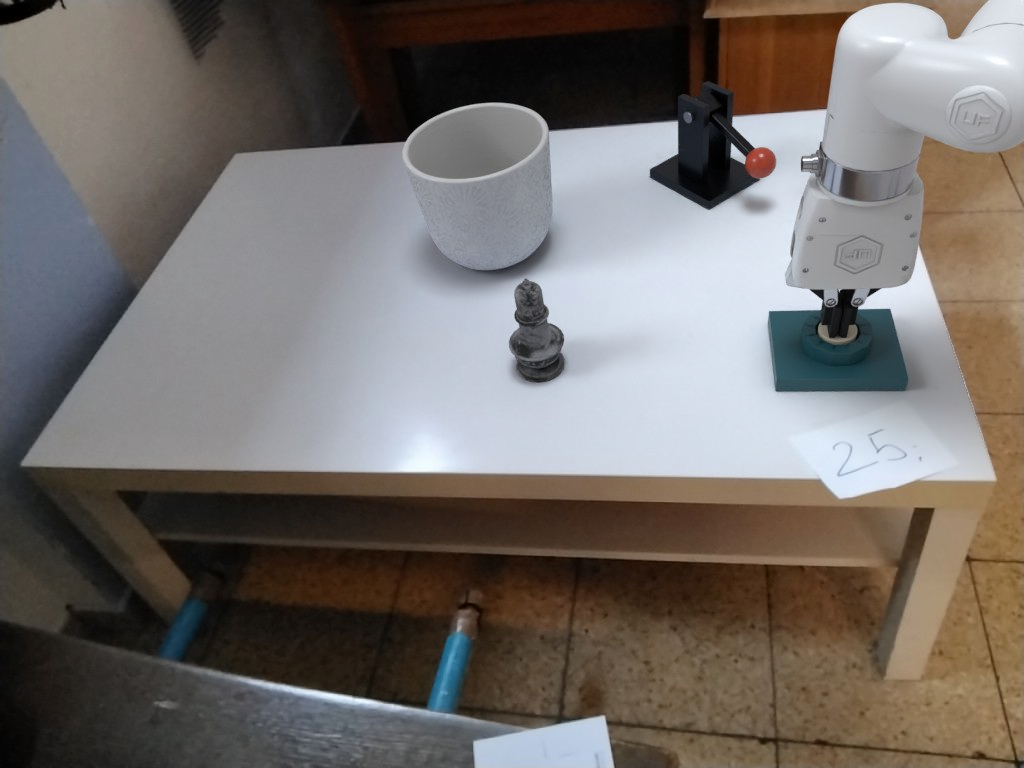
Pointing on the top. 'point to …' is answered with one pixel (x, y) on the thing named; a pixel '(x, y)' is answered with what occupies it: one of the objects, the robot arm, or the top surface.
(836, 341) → the button
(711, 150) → the lever base
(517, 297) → the stone chess piece
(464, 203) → the planter
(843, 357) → the block
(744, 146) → the lever
